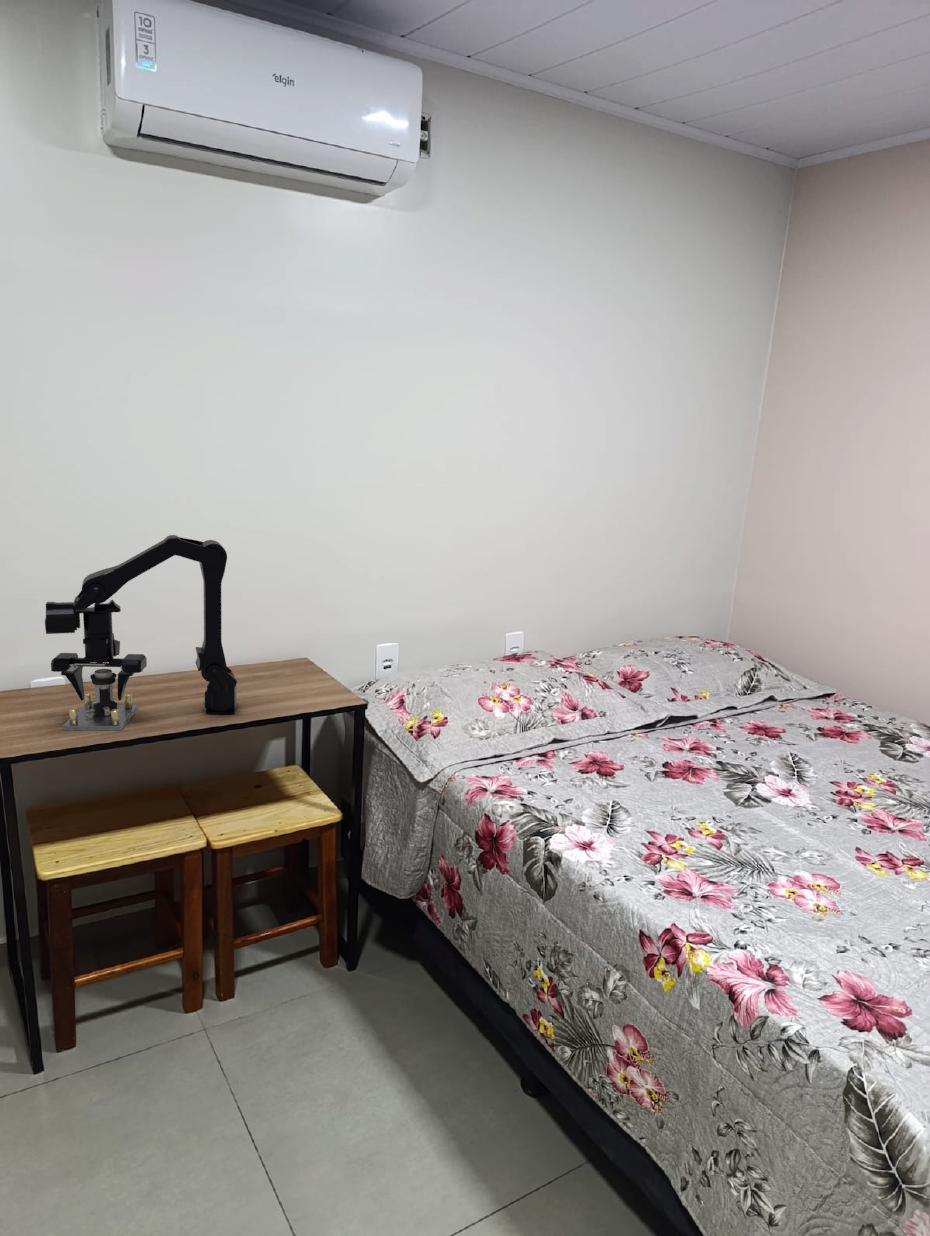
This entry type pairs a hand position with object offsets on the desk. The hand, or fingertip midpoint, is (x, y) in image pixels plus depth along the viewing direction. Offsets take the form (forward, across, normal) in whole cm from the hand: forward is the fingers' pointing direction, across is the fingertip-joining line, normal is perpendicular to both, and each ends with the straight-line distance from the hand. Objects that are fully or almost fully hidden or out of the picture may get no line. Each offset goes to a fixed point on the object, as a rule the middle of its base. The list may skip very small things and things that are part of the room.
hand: (101, 699), depth 189 cm
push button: (+4, 0, 0) cm, 4 cm away
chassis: (+4, 0, 0) cm, 4 cm away
